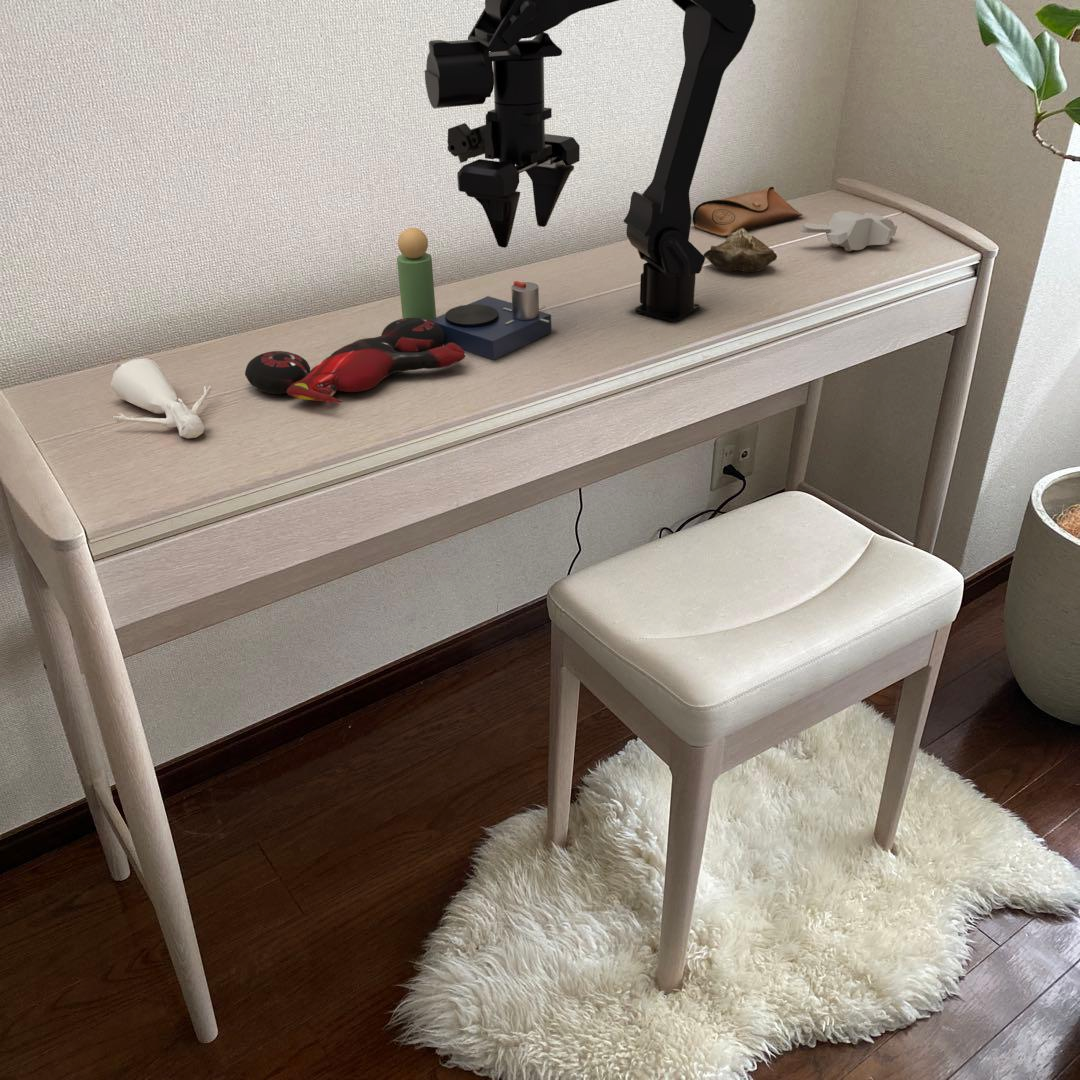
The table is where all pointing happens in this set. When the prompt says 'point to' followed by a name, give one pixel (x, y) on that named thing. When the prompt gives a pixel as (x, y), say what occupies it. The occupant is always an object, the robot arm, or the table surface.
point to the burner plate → (471, 316)
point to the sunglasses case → (743, 212)
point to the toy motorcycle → (355, 362)
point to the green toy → (415, 275)
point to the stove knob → (525, 300)
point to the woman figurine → (155, 397)
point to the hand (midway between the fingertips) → (522, 236)
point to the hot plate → (496, 331)
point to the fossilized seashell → (740, 253)
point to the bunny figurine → (855, 230)
